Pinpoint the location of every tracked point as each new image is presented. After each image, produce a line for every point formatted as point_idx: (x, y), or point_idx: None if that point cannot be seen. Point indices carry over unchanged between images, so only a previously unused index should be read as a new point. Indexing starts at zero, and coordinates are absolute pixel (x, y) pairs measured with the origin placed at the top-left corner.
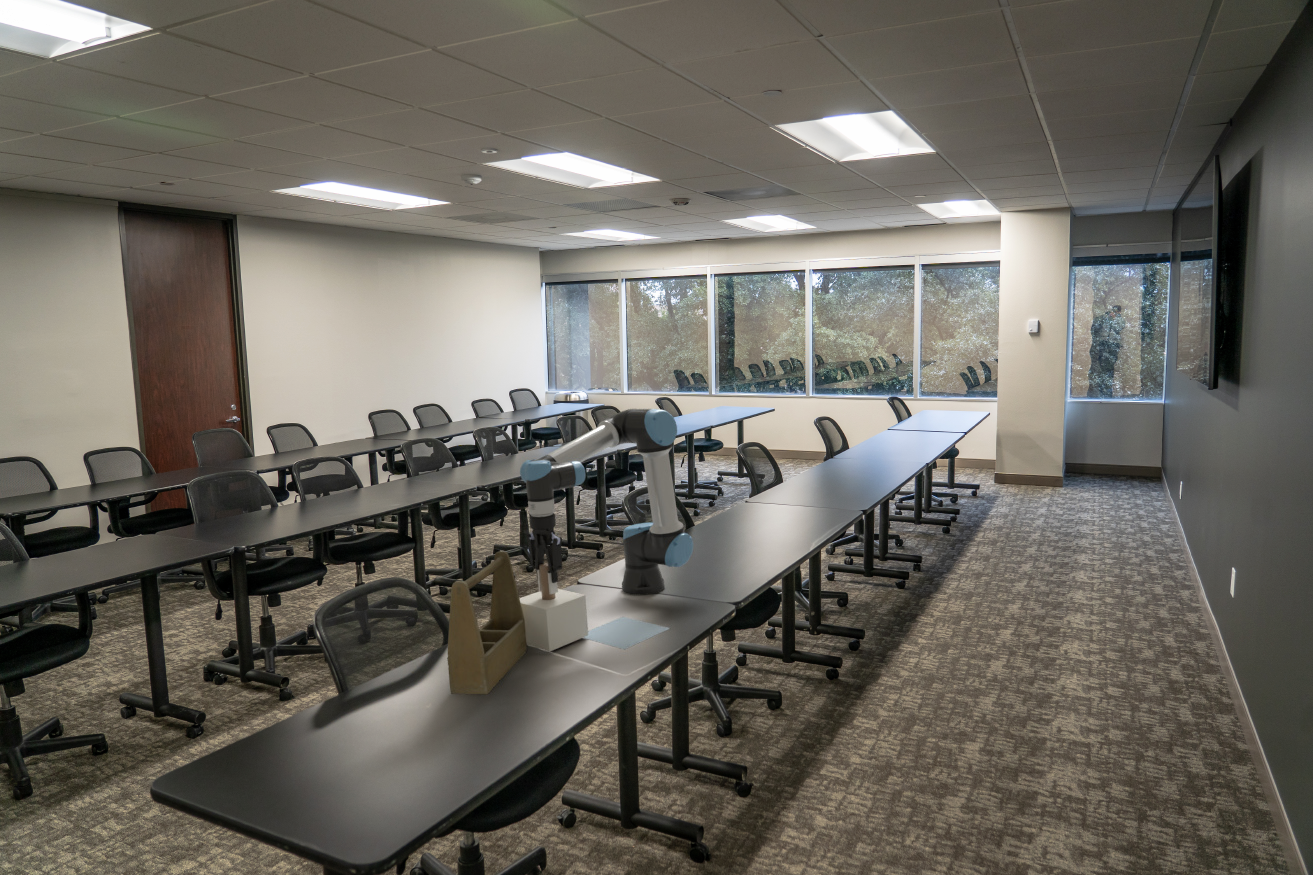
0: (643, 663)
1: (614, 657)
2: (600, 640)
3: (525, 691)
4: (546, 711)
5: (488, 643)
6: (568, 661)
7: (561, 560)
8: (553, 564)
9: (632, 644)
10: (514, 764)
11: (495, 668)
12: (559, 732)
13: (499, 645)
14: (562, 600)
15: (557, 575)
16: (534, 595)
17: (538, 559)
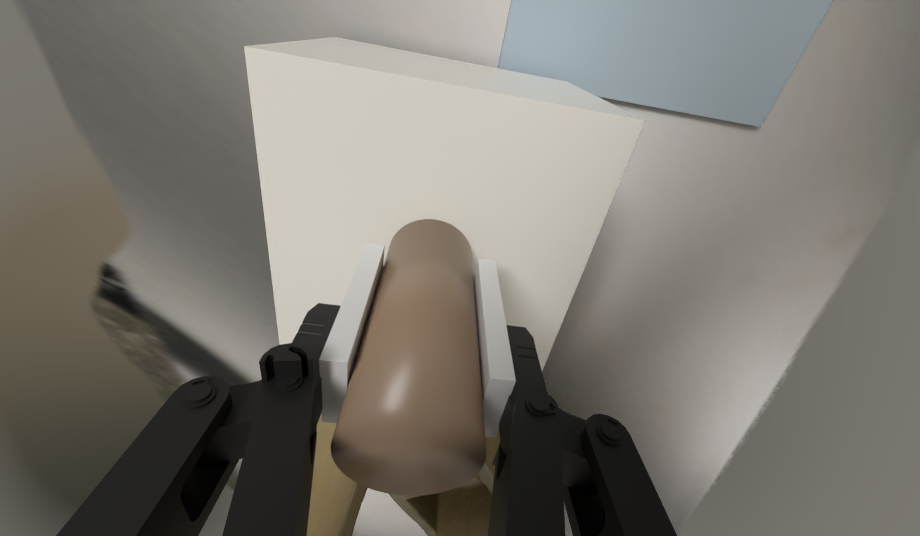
0: (848, 196)
1: (731, 192)
2: (627, 82)
3: (575, 410)
4: (662, 442)
5: (464, 485)
6: (589, 270)
7: (669, 531)
8: (578, 533)
9: (786, 65)
10: (683, 523)
11: (497, 444)
12: (715, 471)
13: (492, 471)
14: (541, 262)
15: (540, 368)
16: (309, 252)
17: (304, 534)
